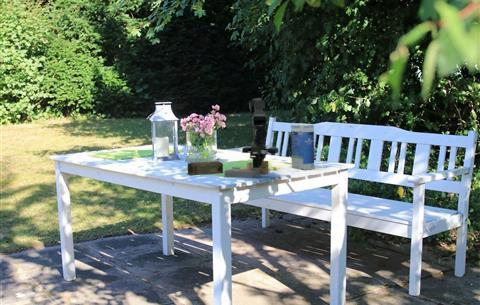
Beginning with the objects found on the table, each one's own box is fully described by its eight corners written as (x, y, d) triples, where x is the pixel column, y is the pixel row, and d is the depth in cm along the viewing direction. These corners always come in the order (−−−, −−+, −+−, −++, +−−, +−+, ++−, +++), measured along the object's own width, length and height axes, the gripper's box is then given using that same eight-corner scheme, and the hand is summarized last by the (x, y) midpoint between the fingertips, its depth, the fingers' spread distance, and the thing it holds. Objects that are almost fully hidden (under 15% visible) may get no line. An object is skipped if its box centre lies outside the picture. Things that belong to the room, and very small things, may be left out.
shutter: (242, 168, 313) (242, 161, 312) (252, 169, 311) (252, 162, 310) (238, 170, 307) (238, 163, 307) (248, 170, 305) (248, 163, 305)
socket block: (233, 173, 319) (233, 166, 318) (260, 174, 313) (260, 167, 312) (224, 176, 308) (224, 169, 307) (252, 178, 302) (252, 171, 301)
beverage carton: (223, 173, 321) (223, 161, 320) (190, 176, 314) (190, 164, 313) (219, 171, 328) (218, 160, 327) (186, 174, 322) (186, 162, 321)
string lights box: (314, 169, 329) (314, 124, 325) (304, 170, 325) (303, 124, 322) (301, 166, 340) (300, 123, 337) (290, 167, 336) (290, 123, 333)
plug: (261, 173, 318) (261, 160, 317) (268, 173, 316) (268, 160, 315) (259, 174, 314) (258, 161, 313) (265, 174, 312) (265, 161, 312)
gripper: (237, 138, 300) (238, 167, 302) (271, 138, 293) (272, 169, 295) (245, 136, 310) (246, 164, 312) (278, 136, 303) (278, 166, 305)
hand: (260, 166), depth 306 cm, fingers closed
